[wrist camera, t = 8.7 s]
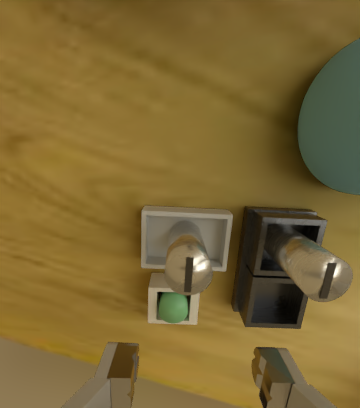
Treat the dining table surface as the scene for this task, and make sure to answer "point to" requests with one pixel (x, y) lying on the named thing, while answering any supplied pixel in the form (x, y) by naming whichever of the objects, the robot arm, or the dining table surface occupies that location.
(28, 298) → the dining table surface
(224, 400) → the dining table surface
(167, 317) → the button
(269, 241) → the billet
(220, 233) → the tote
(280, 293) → the dark two-compartment tray
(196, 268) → the cylinder
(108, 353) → the robot arm
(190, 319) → the box
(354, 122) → the sugar bowl
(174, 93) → the dining table surface
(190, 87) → the dining table surface
